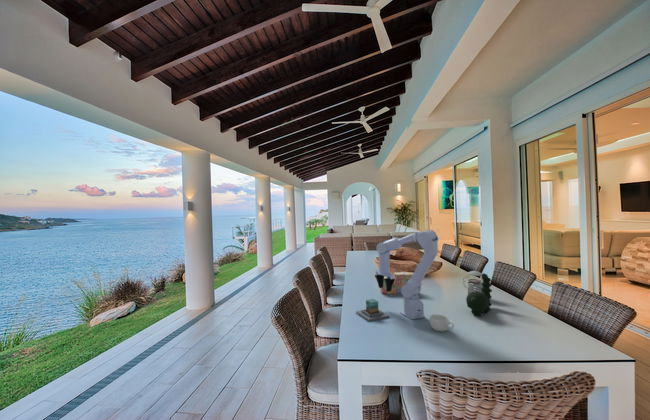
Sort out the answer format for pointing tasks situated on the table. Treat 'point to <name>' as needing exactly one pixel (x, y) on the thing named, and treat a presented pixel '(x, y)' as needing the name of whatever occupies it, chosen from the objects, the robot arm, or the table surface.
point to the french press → (474, 280)
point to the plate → (372, 315)
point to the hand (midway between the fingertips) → (384, 289)
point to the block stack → (371, 306)
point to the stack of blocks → (397, 282)
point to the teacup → (440, 322)
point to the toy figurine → (480, 298)
